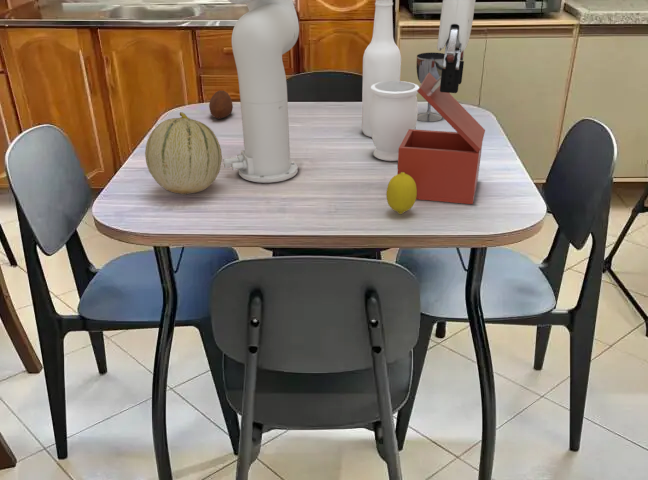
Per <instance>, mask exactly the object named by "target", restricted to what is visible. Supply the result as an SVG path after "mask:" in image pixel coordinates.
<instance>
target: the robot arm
mask: <svg viewBox="0 0 648 480" xmlns="http://www.w3.org/2000/svg"><path fill="white" fill-rule="evenodd" d="M227 1H228V2H229V3H231V4H234V5H244V4H246V7H247V10H248V11H246V13H244V14H243V15H241V16H240V17H239V18H238V19H237V21H236V22H235V24H234V26H233V29H232V33H231V50H232V54H233V60H234V62H235V67H236V73H237V79H238V90H239V91H238V92H239V99H240V100H239V101H240V112H241V125H242V137H243V148H244V149H243V150H240V154H238V155H237V154H236V155H237V156H236V157H225V158H222V165H223V168H224V169H225V168H226V169H228V168H231V170H232V171H234V170H238V174H239V175H238V176H240V178H242V179H244V180H246V181H249V182H252V183H253V182H254V183H264V184H267V183H269V184H270V183H278V182H283V181H287V180H290V179H293V178H294V177H295V176H296V175H297V174H298V171H299V169H298V167H299V166H298V164H297V163H295V161H293V160H291V150H290V149H291V148H290V146H291V145H290V125H289V124H290V123H289V100H288V83H287V76H286V71H285V66H284V62H283V55H285V54H286V53H287V52H289V51H290V50H291V49H292V48H293V47H294V46H295V45H296V43H297V41H298V38H299V34H300V23H299V18H298V14H297V10H296V8H295V5H294V1H293V0H227ZM441 3H442V4H441V12H440V18H439V19H440V20H439V27H438V28H439V29H438V36H437V45H436V48H437V50H438V51H439V52H441V51H442V49H444V48H445V49H444V54H445V55H444V63H443V68H442V73H441V83H440V92H445V93H450V94H457V93H458V92H459V86H460V85H461V84H462V81H463V72H464V66H465V65H464V64H465V60H464V56H465V50H466V49H467V46H468V44H469V42H470V37H471V32H472V29H473V27H472V26H473V21H474V14H475V5H476V0H442V2H441Z"/></svg>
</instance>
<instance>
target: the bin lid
mask: <svg viewBox="0 0 648 480" xmlns="http://www.w3.org/2000/svg"><path fill="white" fill-rule="evenodd" d="M440 83H441V77H440V78H439V79H438V80H436V79H435V78H434V77H433V76H432V75H431V74H430V73H428V74H427V75H426V77H425V79H424V80H423V82H422V84H421V83H420V86H419V89H418V91H417V92H418V93H417V94H419V95H420V96H421V97H422V98H423V99H424V101H426V102H427V104H428V103H429V104H430V105H431V108H433V109H434V110H435V111H436V112H437V113H438V115H440V116H442V119H444V121H446V122H447V123H448V125H450V127H452V129H454V130H455V132H458V133H459V134H460V135H461V136H462V137H463V138H464V139H465V140H466V141H467V142H468V143H469V144H470V145H471V146H472V148H473V149H474V150H475V151H476V152H479V151H480V150H481V146H482V147H483V141H484V137H485V133H486V129H485V128H484V127H483V126H482V125H481V124H480V123H479V122H478V121H477V120H476V119H475V118H474V117H473V116H472V115H471V114H470V113H469V112H468V110H467V109H465V107H464V106H463V105H462V104H461V103H460V102H458V101H457V99H456V98H455V97H454V96H453V95H452V93H445V92H440ZM481 151H482V150H481Z"/></svg>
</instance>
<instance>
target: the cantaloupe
mask: <svg viewBox="0 0 648 480" xmlns="http://www.w3.org/2000/svg"><path fill="white" fill-rule="evenodd" d="M179 116H180V117H173V118H167V119H164V120H163V121H161V122H159V123H158V125H156V126H155V127H154V129H153V130H152V131H151V133H150V134H149V136H148V139H147V141H146V144H145V152H144V156H145V157H144V158H145V162H146V167H147V169H148V170H147V171H148V172H149V174H150V175H151V177H152V178H153V180H154V181H155V182H156V183H157V184H158V185H159V186H160V187H162V188H163V189H165V190H166V191H168V192H171V193H174V194H179V195H190V194H197V193H200V192H203V191H204V190H206V189H208V188H209V187H210V186H211V185H212V184H213V183H214V181H216V179H217V177H218V175H219V173H220V170H221V166H222V163H223V154H222V148H221V144H220V142H219V140H218V137H217V135H216V134H215V133H214V131H213V130H212V129H211V128H210V127H209V126H207V124H205V123H203V122H201V121H199V120H197V119H193V118H190V117H188V116H187V115H186V114H185V113H184V112H183V111H180V112H179Z"/></svg>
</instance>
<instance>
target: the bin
mask: <svg viewBox="0 0 648 480" xmlns="http://www.w3.org/2000/svg"><path fill="white" fill-rule="evenodd" d="M482 149H483V145H482V146H481V150H480V151H479V152H476V151H475V150H474V149H473V148H472V146H471V145H470V144H469V143H468V142H467V141H466V140H465V139H464V138H463V137H462V136H461V135H460V134H459V133H458V132H457V131H443V130H428V129H416V128H415V129H409V130H408V132H407V134H406V135H405V137H404V139H403V141H402V143H401V145H400V147H399V153H398V161H397V174H400V173H401V172H404V173H405V174H407V175H409V176H411V177H412V178H413V179H414V181H415V183H416V188H417V197H416V200H419V201H420V200H421V201H430V202H432V201H433V202H440V203H442V202H443V203H452V204H466V205H473V204H474V199H475V197H476V192H477V191H476V190H477V187H478V183H479V172H480V167H481V166H480V165H481V159H482V158H481V157H482V151H483V150H482ZM397 174H396V175H397Z"/></svg>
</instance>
